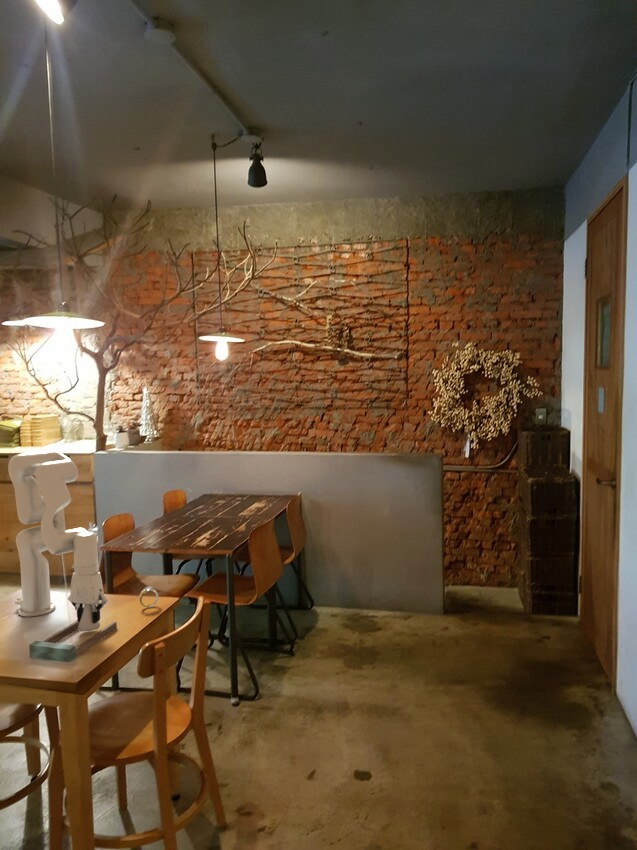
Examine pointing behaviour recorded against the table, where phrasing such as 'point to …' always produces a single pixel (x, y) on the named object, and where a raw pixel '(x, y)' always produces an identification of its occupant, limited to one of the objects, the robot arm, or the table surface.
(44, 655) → the guide channel
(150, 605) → the ring
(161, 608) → the table surface
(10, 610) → the table surface
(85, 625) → the flask
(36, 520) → the robot arm
